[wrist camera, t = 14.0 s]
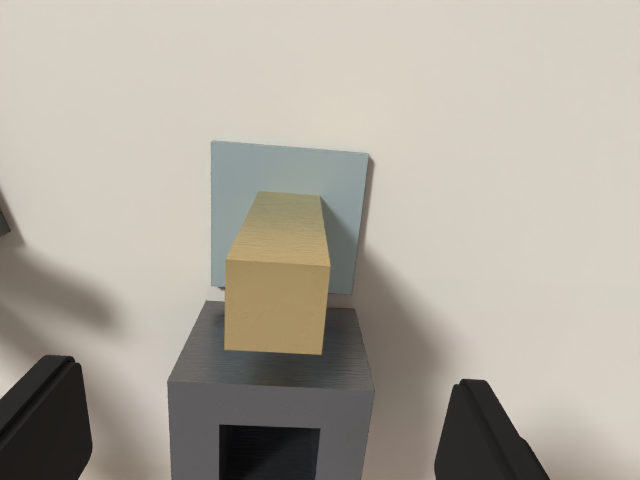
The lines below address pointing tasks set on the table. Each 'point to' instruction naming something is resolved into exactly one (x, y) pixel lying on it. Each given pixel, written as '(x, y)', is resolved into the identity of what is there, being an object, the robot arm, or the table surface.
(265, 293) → the brass peg
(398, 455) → the table surface
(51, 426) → the robot arm
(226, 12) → the table surface
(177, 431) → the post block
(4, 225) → the faucet
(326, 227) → the rubber pad
